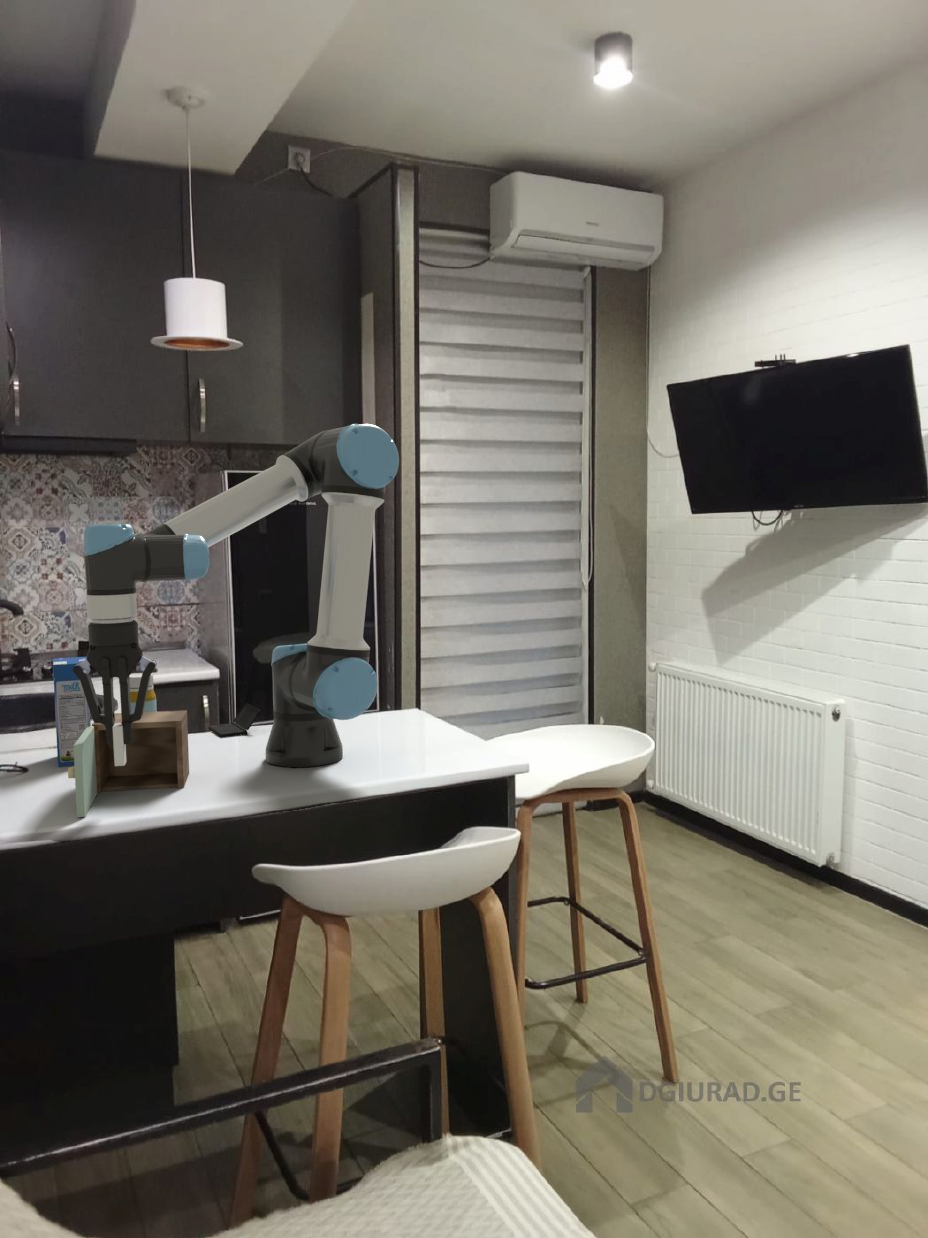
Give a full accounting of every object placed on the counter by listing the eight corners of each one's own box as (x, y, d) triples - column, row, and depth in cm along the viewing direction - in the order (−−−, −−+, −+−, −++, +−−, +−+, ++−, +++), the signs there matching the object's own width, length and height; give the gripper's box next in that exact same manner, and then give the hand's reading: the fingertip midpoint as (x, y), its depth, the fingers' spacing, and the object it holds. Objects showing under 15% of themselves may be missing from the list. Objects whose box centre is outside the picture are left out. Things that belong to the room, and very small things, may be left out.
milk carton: (92, 763, 187) (87, 662, 186) (58, 767, 185) (52, 664, 183) (91, 753, 197) (86, 656, 195) (58, 756, 194) (53, 658, 192)
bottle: (139, 750, 199) (136, 678, 197) (116, 746, 202) (112, 676, 201) (164, 743, 205) (162, 674, 203) (142, 740, 208) (139, 671, 207)
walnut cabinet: (189, 773, 180) (186, 710, 178) (183, 787, 170) (181, 720, 169) (105, 777, 177) (102, 713, 176) (94, 792, 167) (91, 724, 166)
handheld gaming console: (199, 723, 218) (225, 687, 220) (222, 738, 222) (248, 703, 224) (220, 739, 209) (247, 701, 211) (244, 754, 213) (270, 717, 216)
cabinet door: (85, 816, 152) (81, 745, 151) (68, 817, 152) (65, 746, 151) (97, 791, 167) (94, 726, 166) (83, 792, 166) (80, 726, 165)
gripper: (157, 616, 159) (164, 755, 161) (74, 619, 156) (82, 761, 159) (152, 621, 152) (160, 766, 154) (65, 624, 149) (74, 772, 151)
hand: (120, 763), depth 156 cm, fingers closed
